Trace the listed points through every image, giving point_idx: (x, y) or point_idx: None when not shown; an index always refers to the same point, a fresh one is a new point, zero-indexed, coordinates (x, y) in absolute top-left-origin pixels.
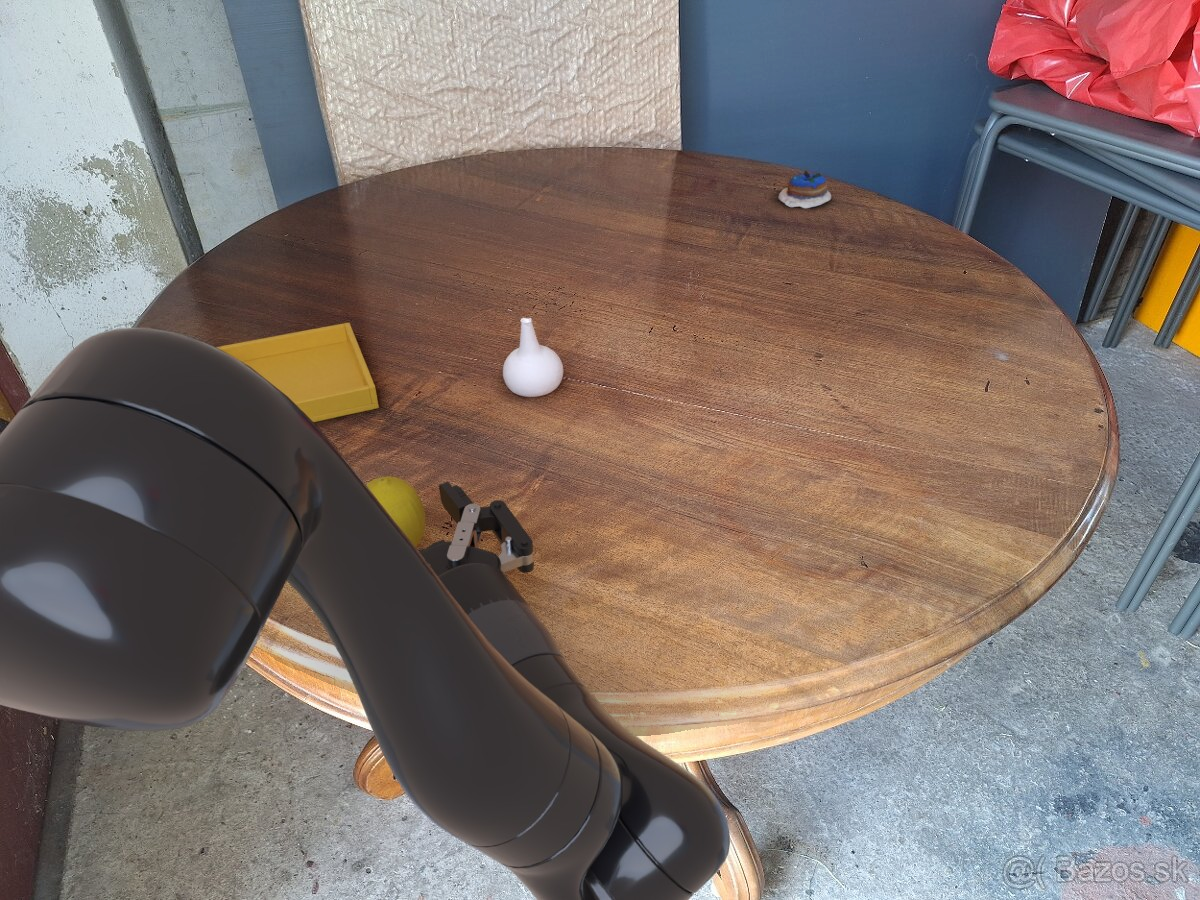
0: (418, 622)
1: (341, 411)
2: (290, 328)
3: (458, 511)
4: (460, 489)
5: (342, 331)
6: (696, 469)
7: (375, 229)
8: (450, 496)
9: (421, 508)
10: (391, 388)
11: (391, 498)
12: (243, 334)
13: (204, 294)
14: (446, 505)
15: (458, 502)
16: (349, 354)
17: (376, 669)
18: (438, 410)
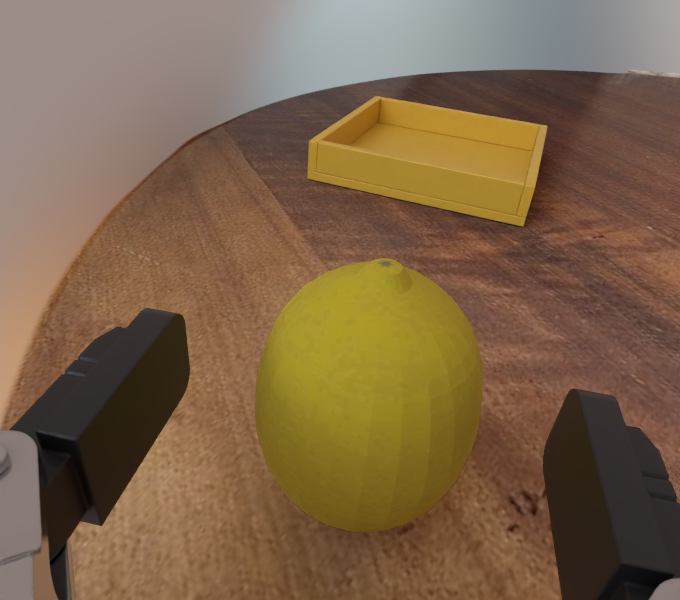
0: None
1: (464, 205)
2: None
3: (606, 568)
4: (655, 458)
5: (532, 133)
6: None
7: (627, 98)
8: (600, 466)
9: (464, 430)
10: (558, 215)
11: (373, 336)
12: None
13: (418, 85)
14: (557, 479)
15: (630, 524)
16: (524, 161)
17: None
18: (622, 270)
